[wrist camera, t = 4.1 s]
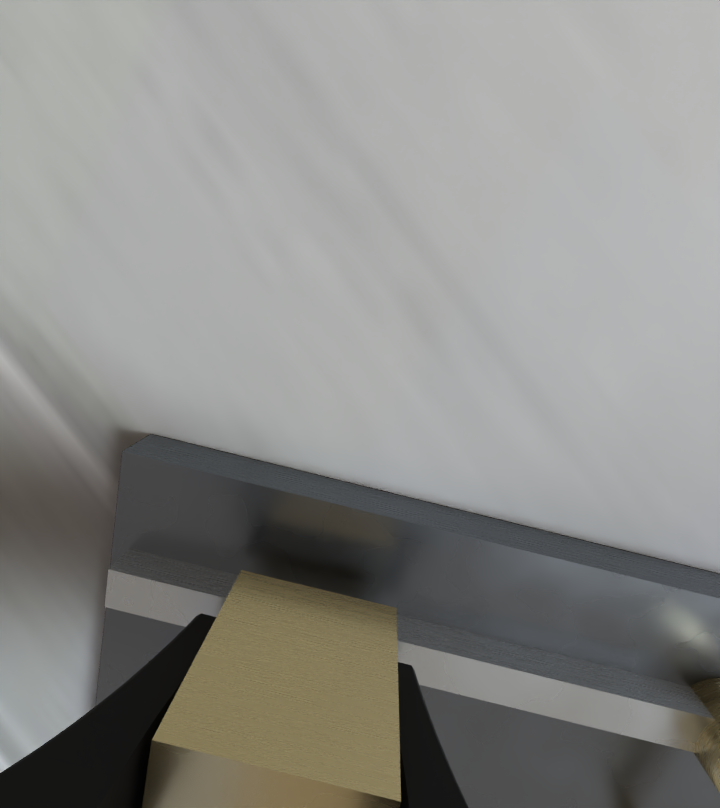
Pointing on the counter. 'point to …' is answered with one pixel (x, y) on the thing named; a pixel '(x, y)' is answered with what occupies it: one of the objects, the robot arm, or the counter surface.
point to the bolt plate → (446, 622)
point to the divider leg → (284, 706)
